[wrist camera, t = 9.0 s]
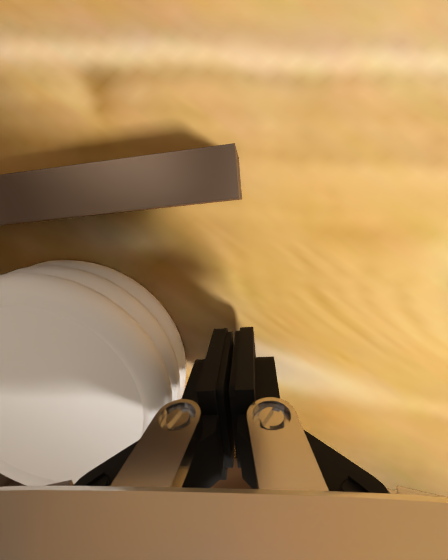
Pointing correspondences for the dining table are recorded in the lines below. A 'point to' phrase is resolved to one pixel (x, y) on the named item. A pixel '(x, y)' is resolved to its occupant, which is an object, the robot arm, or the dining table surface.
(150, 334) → the white plate stack
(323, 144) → the dining table surface
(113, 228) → the dining table surface
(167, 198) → the bay
